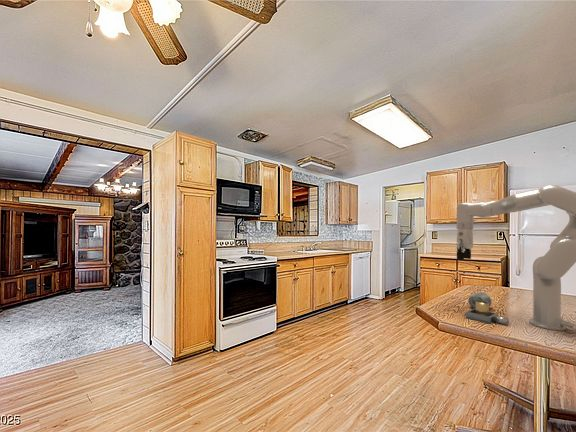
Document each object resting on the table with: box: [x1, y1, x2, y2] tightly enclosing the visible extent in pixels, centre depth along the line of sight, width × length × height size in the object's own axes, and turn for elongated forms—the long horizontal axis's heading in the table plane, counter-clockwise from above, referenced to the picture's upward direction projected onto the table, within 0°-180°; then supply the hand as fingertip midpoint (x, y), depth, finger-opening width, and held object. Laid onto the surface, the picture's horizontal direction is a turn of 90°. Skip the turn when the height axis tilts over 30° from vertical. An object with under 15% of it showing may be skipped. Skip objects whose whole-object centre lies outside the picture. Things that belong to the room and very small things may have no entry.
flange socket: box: [465, 308, 510, 326], centre depth 139 cm, size 16×10×3 cm
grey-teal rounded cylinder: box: [467, 292, 492, 309], centre depth 160 cm, size 14×10×10 cm
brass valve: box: [476, 299, 490, 317], centre depth 141 cm, size 5×5×8 cm
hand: (463, 259), depth 153 cm, fingers open, 9 cm apart
